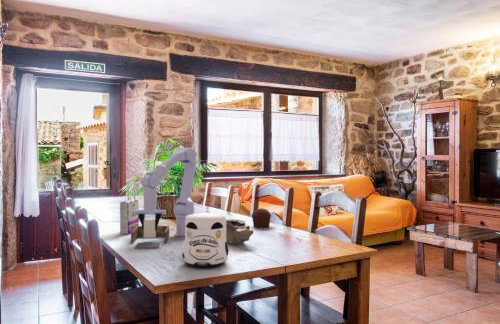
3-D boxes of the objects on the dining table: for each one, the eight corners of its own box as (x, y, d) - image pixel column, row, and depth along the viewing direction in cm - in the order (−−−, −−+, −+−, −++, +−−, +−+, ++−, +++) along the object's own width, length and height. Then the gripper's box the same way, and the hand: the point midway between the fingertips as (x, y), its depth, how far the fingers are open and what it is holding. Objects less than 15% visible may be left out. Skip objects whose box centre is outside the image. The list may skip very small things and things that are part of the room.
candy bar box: (130, 229, 212) (130, 199, 212) (138, 230, 211) (139, 199, 211) (119, 234, 201) (119, 201, 201) (128, 234, 200) (128, 202, 200)
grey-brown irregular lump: (242, 237, 198) (242, 217, 197) (260, 246, 180) (260, 224, 179) (217, 239, 192) (217, 219, 192) (233, 248, 174) (233, 226, 174)
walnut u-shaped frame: (169, 235, 199) (169, 225, 199) (166, 243, 183) (166, 232, 183) (136, 236, 197) (136, 226, 197) (131, 243, 181) (131, 232, 181)
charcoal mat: (160, 243, 182) (160, 242, 182) (158, 248, 173) (158, 247, 173) (137, 243, 181) (137, 242, 181) (134, 248, 172) (134, 247, 172)
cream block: (155, 235, 188) (156, 218, 188) (154, 237, 183) (154, 220, 183) (145, 235, 188) (145, 218, 188) (143, 237, 183) (143, 220, 183)
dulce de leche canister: (196, 273, 139) (196, 222, 138) (174, 261, 153) (174, 215, 152) (237, 265, 149) (237, 217, 148) (213, 255, 163) (213, 211, 162)
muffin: (274, 227, 222) (274, 210, 222) (256, 229, 218) (256, 211, 218) (265, 224, 233) (266, 207, 233) (248, 225, 229) (248, 208, 229)
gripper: (132, 202, 180) (132, 231, 181) (165, 202, 182) (165, 231, 182) (135, 200, 187) (134, 228, 188) (166, 200, 189) (166, 228, 189)
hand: (149, 230), depth 186 cm, fingers closed on cream block, 5 cm apart
